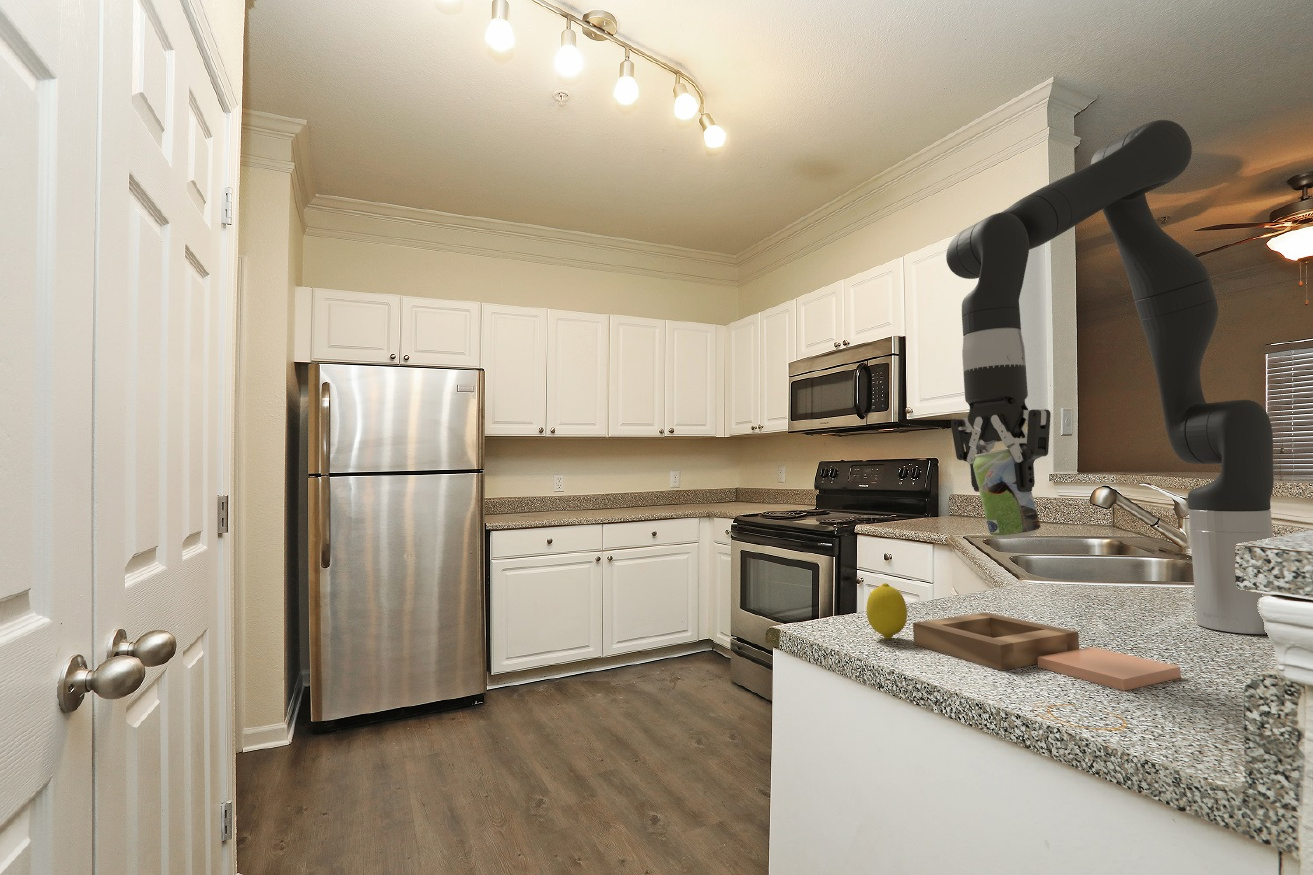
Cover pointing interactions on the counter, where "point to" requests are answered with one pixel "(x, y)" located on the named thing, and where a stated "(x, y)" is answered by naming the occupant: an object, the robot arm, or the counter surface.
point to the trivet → (1109, 668)
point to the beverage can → (1004, 496)
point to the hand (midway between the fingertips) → (1002, 491)
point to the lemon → (886, 610)
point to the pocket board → (994, 639)
